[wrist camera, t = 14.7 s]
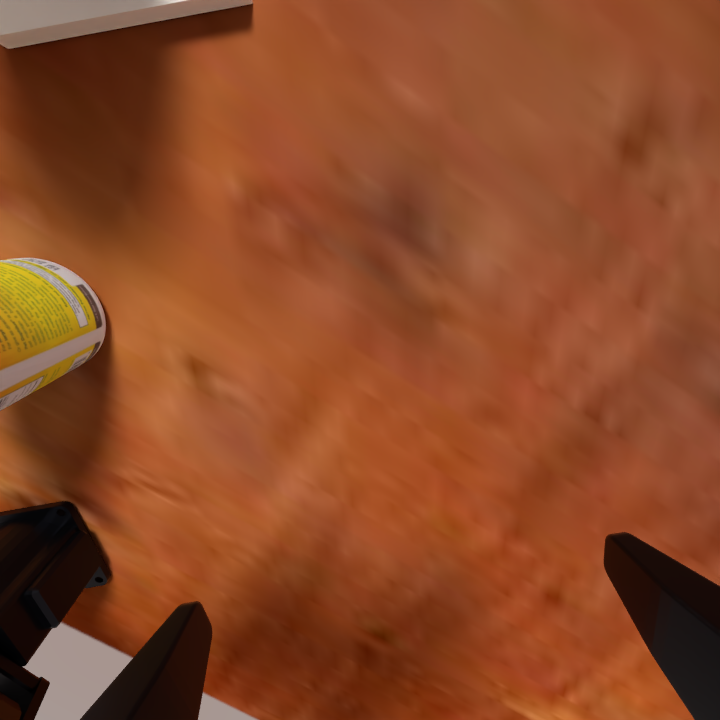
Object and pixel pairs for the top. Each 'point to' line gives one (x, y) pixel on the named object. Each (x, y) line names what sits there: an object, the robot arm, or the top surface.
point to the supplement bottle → (44, 325)
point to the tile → (90, 16)
